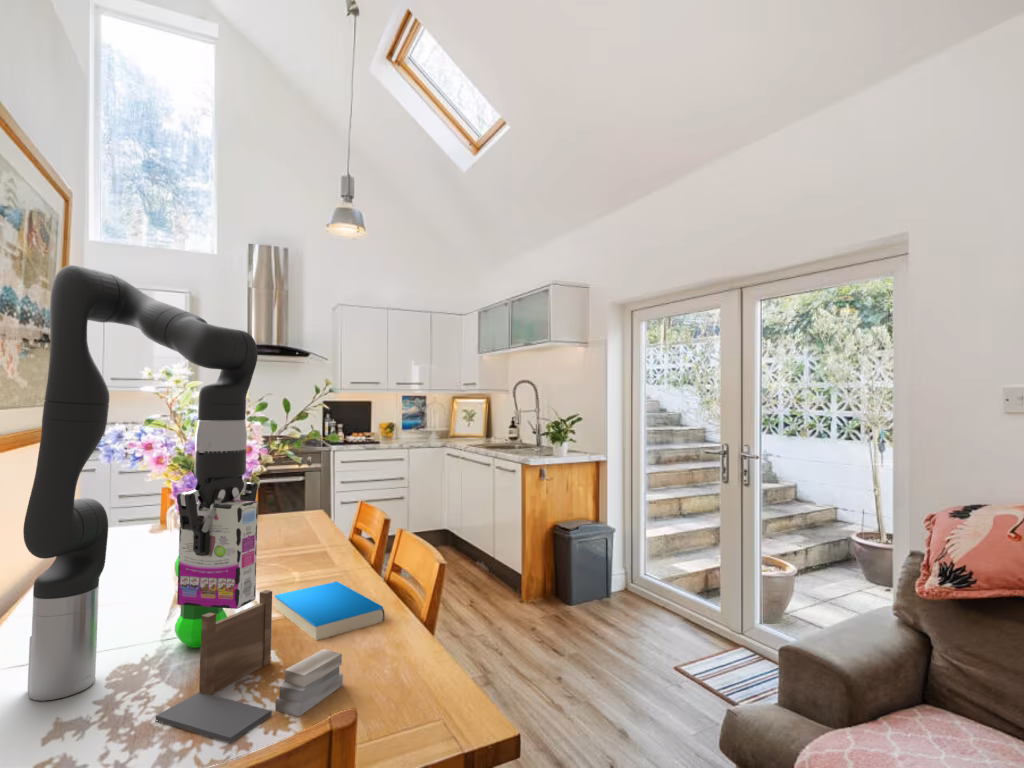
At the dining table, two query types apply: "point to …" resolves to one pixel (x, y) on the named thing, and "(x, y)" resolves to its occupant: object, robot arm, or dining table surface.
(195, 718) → the mat
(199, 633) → the plastic bottle
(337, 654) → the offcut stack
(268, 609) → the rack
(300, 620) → the book
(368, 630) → the dining table surface
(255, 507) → the candy bar box
